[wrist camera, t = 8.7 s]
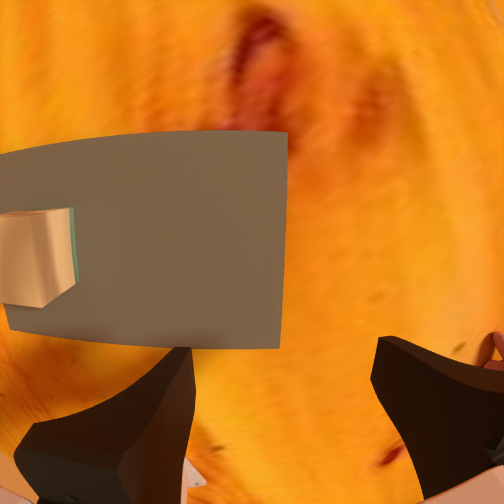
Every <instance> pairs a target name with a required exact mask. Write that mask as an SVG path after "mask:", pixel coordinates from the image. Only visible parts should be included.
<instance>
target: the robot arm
mask: <svg viewBox="0 0 504 504" xmlns="http://www.w3.org/2000/svg"><path fill="white" fill-rule="evenodd" d="M370 380H371V383H372V385H373V388H374V390H375V393H376V395H377V397H378V399H379V401H380V403H381V404H382V406H383V408H384V409H385V411H386V413H387V414H388V416H389V417H390V419H391V421H392V422H393V424H394V426H395V427H396V429H397V430H398V432H399V434H400V435H401V437H402V439H403V441H404V443H405V445H406V448H407V450H408V452H409V455H410V457H411V459H412V462H413V465H414V468H415V470H416V473H417V476H418V479H419V483H420V486H421V489H422V493H423V497H424V501H421V502H418V503H416V504H504V371H501V370H493V369H487V368H481V367H477V366H473V365H469V364H465V363H461V362H458V361H455V360H452V359H449V358H447V357H444V356H441V355H439V354H436V353H434V352H432V351H429V350H427V349H424V348H422V347H420V346H418V345H415V344H413V343H411V342H408V341H406V340H403V339H401V338H398V337H395V336H384V337H379V338H378V344H377V349H376V354H375V359H374V364H373V368H372V373H371V377H370ZM195 398H196V386H195V377H194V368H193V359H192V348H191V347H174V348H173V349H172V350H171V351H170V352H169V353H168V354H167V355H166V356H165V357H164V358H163V359H162V360H161V361H160V362H159V363H157V364H156V365H155V366H154V367H153V368H152V369H151V370H150V371H149V372H148V373H146V374H145V375H144V376H143V377H141V378H140V379H139V380H138V381H136V382H135V383H134V384H132V385H131V386H130V387H128V388H127V389H125V390H124V391H122V392H120V393H119V394H117V395H115V396H114V397H112V398H110V399H108V400H106V401H104V402H102V403H100V404H98V405H96V406H93V407H91V408H89V409H86V410H84V411H81V412H78V413H75V414H72V415H69V416H66V417H62V418H58V419H53V420H49V421H44V422H38V423H33V425H32V426H31V428H30V429H29V430H28V432H27V433H26V435H25V436H24V438H23V439H22V441H21V442H20V444H19V445H18V447H17V448H16V450H15V452H14V460H15V463H16V466H17V467H18V469H19V471H20V472H21V474H22V475H23V477H24V478H25V480H26V481H27V482H28V483H29V485H30V486H31V487H32V489H33V490H34V491H35V493H36V494H37V495H38V496H39V500H38V502H37V504H186V503H187V494H188V488H189V487H196V486H203V485H205V484H206V480H205V479H204V478H203V476H202V475H201V474H200V473H199V472H198V471H197V470H196V469H195V468H194V466H193V465H192V464H191V463H190V462H189V461H188V460H187V458H186V457H185V454H186V449H187V444H188V440H189V435H190V430H191V426H192V421H193V416H194V411H195ZM0 504H34V503H32V502H31V501H30V500H28V499H26V498H24V497H22V496H20V495H18V494H16V493H14V492H12V491H9V490H7V489H5V488H3V487H1V486H0Z"/></svg>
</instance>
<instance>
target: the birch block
mask: <svg viewBox="0 0 504 504" xmlns="http://www.w3.org/2000/svg"><path fill="white" fill-rule="evenodd" d="M77 282H79V275H78V266H77V256H76V245H75V231H74V211H73V207H67V208H50V209H35V210H21V211H15V212H10V213H5V214H0V303H6V304H14V305H21V306H29V307H38V308H43V307H44V306H45V305H47V304H48V303H50V302H51V301H52V300H54V299H55V298H56V297H58V296H59V295H61V294H62V293H63V292H65V291H66V290H67V289H69V288H70V287H72V286H73V285H75V284H76V283H77Z"/></svg>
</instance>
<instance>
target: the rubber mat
mask: <svg viewBox="0 0 504 504" xmlns="http://www.w3.org/2000/svg"><path fill="white" fill-rule="evenodd" d="M287 158H288V132H270V131H234V130H208V131H173V132H154V133H139V134H127V135H117V136H107V137H98V138H90V139H82V140H75V141H68V142H62V143H56V144H50V145H44V146H39V147H33V148H28V149H23V150H18V151H14V152H9V153H5V154H0V214H5V213H10V212H15V211H21V210H35V209H50V208H67V207H73V211H74V231H75V245H76V256H77V266H78V275H79V282H77V283H76V284H75V285H73V286H72V287H70V288H69V289H67V290H66V291H65V292H63V293H62V294H61V295H59V296H58V297H56V298H55V299H54V300H52V301H51V302H50V303H48V304H47V305H45V306H44V307H43V308H38V307H29V306H21V305H14V304H6V303H4V306H5V311H6V315H7V319H8V323H9V327H10V330H15V331H21V332H27V333H33V334H39V335H45V336H52V337H59V338H66V339H74V340H82V341H91V342H100V343H111V344H122V345H134V346H149V347H167V348H174V347H191V348H192V349H275V348H280V333H281V316H282V298H283V278H284V256H285V231H286V201H287Z"/></svg>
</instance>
